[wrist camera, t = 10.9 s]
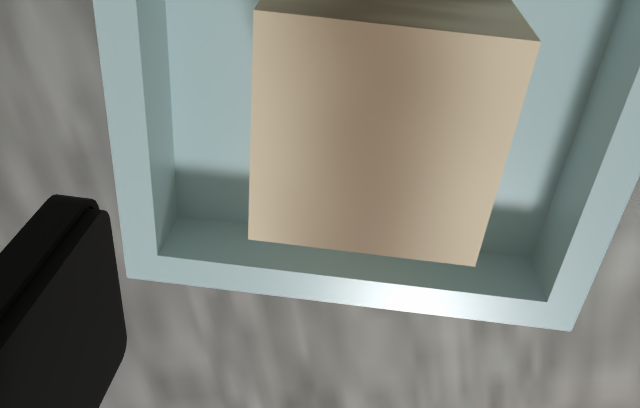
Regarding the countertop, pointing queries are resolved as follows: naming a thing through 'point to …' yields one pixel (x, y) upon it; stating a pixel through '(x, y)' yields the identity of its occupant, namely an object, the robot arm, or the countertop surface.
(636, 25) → the teal tray
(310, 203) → the birch block
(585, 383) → the countertop surface
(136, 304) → the countertop surface
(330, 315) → the countertop surface
